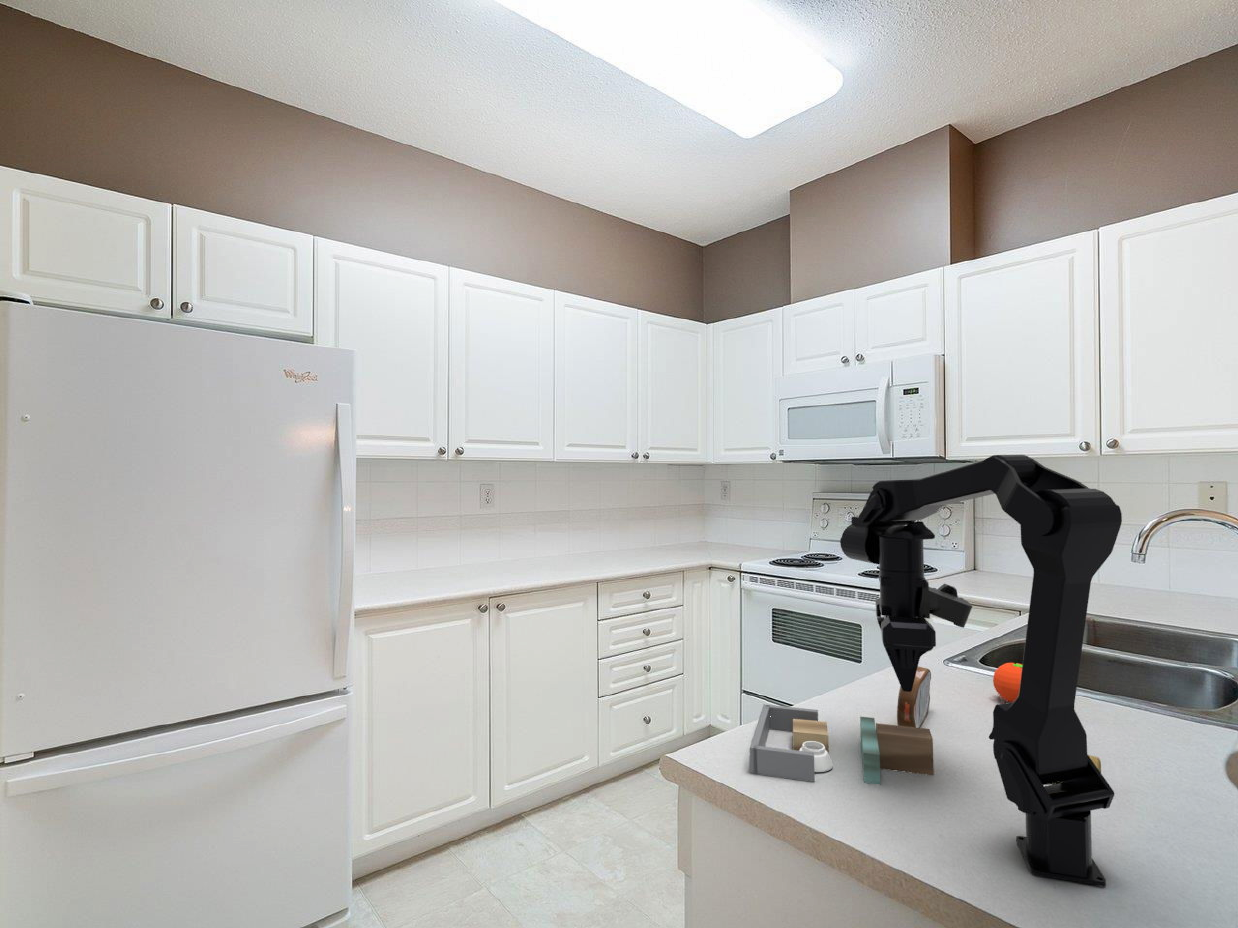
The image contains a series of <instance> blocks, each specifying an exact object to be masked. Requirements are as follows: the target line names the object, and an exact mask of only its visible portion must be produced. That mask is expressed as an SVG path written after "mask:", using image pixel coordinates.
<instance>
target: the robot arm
mask: <svg viewBox="0 0 1238 928" xmlns="http://www.w3.org/2000/svg"><path fill="white" fill-rule="evenodd" d="M872 489H873V490H871V492H870V494H869V496H868V498H867V500H866V502H865V504H864V506H863V508H862V510H861V512H860V513H859V515H858V516H851V519H850V520H851V524H849V525H848V526H847V527H846V528H845V529H844V530H843V532H842V534H841V538H840V539H839V540H840V548H841V551H842V553H843V554H844V555H845V556H846V557H847V558H849V559H851V560H855V561H860V562H866V563H868V564H869V563H871V564H874V565H879V572H878V581H879V598H877V599H876V600H875V615H876V620H877V624H878V627H879V628H880V629H879V630H880V631H881V640H882V645H883V647H884V650H885V651H886V654H887V656H888V658H889V661H890V664H891V666H892V669H893V671H894V673H895V676H896V678H897V680H898V683H899V685H900V686H901V688H902V690H903V691H905V692H911V691H912V688H913V684H914V680H915V676H916V671H917V667H919V662H920V660H921V657H922V656H923V655H924V654H926V653H927V652H930V651H933V649H934V648H935V647H937V642H936V641H937V639H936V637H937V636H936V632H937V631H936V630H935V628H934V627H933V625H932V624H931V623H930V622H929V621H928V620H927V619H930V620H931V615H932V616H934V617H937V618H940V619H942V620H944V621H947V622H950V623H952V624H953V625H955V626H957V627H960V628H962V629H963V628H965V627H966V624H967V622H968V619H969V616H970V614H971V611H972V608H973V605H972V604H971V603H970V602H969V601H968V600H966V599H964V598H963V597H961V596H960V597H959V596H958V590H957V589H956V587H955V586H952V585H949V584H946V583H943V584H942V585H941V586H939V587H938V588H936V587H930V584H929V581H928V580H927V579H926V577H925V567H924V566H925V564H924V563H925V562H924V561H925V560H924V540H934V539H935V538H936V534H935V533H934V532H933V531H932V530H931V529H930V528H928V527H927V526H926V524H925V523H924V521H921V520H924V519H926V518H928V517H930V516H932V515H934V514H935V515H936V513H938V511H939V510H940V509H942V508H943V507H946V506H948V505H952V504H956V503H960V502H964V501H969V500H974V499H977V498H982V497H985V496H986V497H987V496H990V495H996V498H997V500H998V503H999V506H1000V507H1001V509H1002V511H1003V512H1004V513H1005V514H1006V515H1008V516H1009V517H1010V518H1012V519H1013V520H1014V521H1016V523H1018V524H1019V525H1020V526H1019V527H1020V543H1021V546H1022V549H1023V550H1024V553H1025V555H1026V557H1027V559H1028V561H1029V563H1030V565H1031V566H1032V569H1033V574H1032V575H1033V576H1032V584H1031V591H1030V601H1029V609H1028V618H1027V626H1026V634H1025V642H1024V650H1023V657H1022V658H1023V659H1022V673H1021V682H1020V690H1019V695H1018V697H1017V699H1016V700H1015V701H1014V702H1006V703H1005V702H1004V703H998V704H995V706H994V708H993V712H992V721H993V723H992V724H993V725H992V730H991V732H990V734H989V735H988V738H989V740H993V744H992V746H993V747H992V749H993V756H994V759H995V761H996V765H997V768H998V772H999V774H1000V775H999V776H1000V779H1001V782H1002V785H1003V790H1004V792H1005V795H1006V799H1007V800H1008V801H1010V802H1011V803H1013V804H1015V805H1016V807H1017V810H1019V812H1022V813H1023V814H1025V836H1023V835H1018V836H1016V837H1015V841H1016V844H1017V846H1018V848H1019V850H1020V852H1021V854H1022V856H1023V859H1024V861H1025V864H1026V865H1027V867H1028V869H1029V871H1030V872H1031V874H1033V875H1036V876H1039V877H1040V876H1041V877H1046V878H1047V877H1048V878H1052V879H1053V878H1054V879H1060V880H1065V881H1071V882H1077V883H1084V884H1090V885H1095V886H1101V887H1105V886H1106V885H1107V879H1106V878H1105V876H1104V874H1103V873H1102V871H1101V870H1100V867H1098V865H1097V863H1096V862H1095V861H1094V858H1093V849H1092V848H1093V847H1092V843H1093V841H1092V817H1091V816H1092V811H1094V810H1095V811H1096V810H1100V809H1105V810H1106V809H1109V808H1110V806H1111V804H1112V801H1113V800H1114V796H1115V791H1114V790H1113V788H1112V787H1111V785H1110V784H1109V783H1108V781H1107V780H1106V778H1105V777H1104V776H1103V774H1102V772H1101V773H1100V771H1099V770H1098V769H1097V767H1096V766H1095V764H1094V763H1093V761H1092V760H1091V759H1090V757H1089V756H1088V755H1089V754H1088V740H1087V738H1088V736H1087V732H1086V730H1085V728H1084V726H1083V723H1082V722H1081V720H1080V718H1079V716H1078V713H1077V712H1076V710H1075V704H1076V703H1075V702H1076V697H1077V696H1076V695H1077V687H1078V680H1079V673H1080V666H1081V658H1082V649H1083V643H1084V637H1085V629H1086V623H1087V622H1086V620H1087V613H1088V606H1089V599H1090V592H1091V582H1092V579H1093V577H1094V576H1095V574H1096V573H1097V572H1098V571H1099V569H1101V567H1102V566H1103V565H1104V563H1105V562H1106V561H1107V559H1108V558H1109V557H1110V555H1111V554H1112V553H1113V550H1114V547H1115V544H1116V541H1117V539H1118V536H1119V535H1118V534H1119V533H1120V530H1121V526H1122V523H1123V516H1122V509H1121V507H1120V505H1118V504H1116V502H1115V501H1114V500H1113V498H1112V497H1111V496H1110V495H1108V494H1107V493H1106V492H1105V491H1103V490H1100V489H1097V488H1089V487H1088V486H1087V485H1085V484H1083V483H1082V482H1081V481H1079V480H1076V479H1075V478H1071V477H1070V476H1067V475H1065V474H1062V473H1060V472H1058V471H1056V470H1053V469H1050V468H1049V467H1046V466H1044V465H1043V464H1042V463H1040V462H1038V461H1037V460H1035V459H1034V458H1032V457H1029V456H1028V455H1025V454H995V455H994V454H993V455H990V456H989V457H987V458H985V459H983V460H980V461H977V462H973V463H970V464H966V465H963V466H960V467H957V468H952V469H950V470H947V471H946V470H945V471H944V472H942V471H941V472H939V473H936V474H933V475H930V476H926V477H922V478H918V479H914V478H913V479H892V480H879V481H877V482H875V483H874V484H873V486H872ZM1059 782H1062V783H1059Z"/></svg>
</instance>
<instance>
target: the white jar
mask: <svg viewBox="0 0 1238 928" xmlns="http://www.w3.org/2000/svg"><path fill="white" fill-rule="evenodd" d="M799 751H805V752H813V753H814V772H815V773H824V772H828V771H830V770H831V769H833V760H832V758H831V756H830V754H828V752H827V751H826V750H825V746H824V745H823V744H822V743H819V742H815V741H807V742H804V743H803V744H802V747H801V748H800V750H799Z"/></svg>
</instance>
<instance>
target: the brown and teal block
mask: <svg viewBox="0 0 1238 928" xmlns="http://www.w3.org/2000/svg"><path fill="white" fill-rule="evenodd" d="M859 718H860V719H859V721H860V728H859V729H860V749H861V760H862V762H861V763H862V771H863V773H862V774H863V783H865V784H866V783H867V784H872V785H873V784H874V785H881V770H887V771H893V770H897V771H896V772H901V771H905V772H904V773H909V772H912V773H911V774H917V773H919V774H920V775H925V774H927V776H933V775H934V774H935V771H934V739H933V735H932V733H931V729H930V728H925V727H920V728H916V727H907V726H898V724H897V725H894V724H887V723H886V724H885V723H876V721H875V717H868V716H860V717H859ZM880 768H881V769H880Z"/></svg>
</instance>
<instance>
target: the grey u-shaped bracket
mask: <svg viewBox="0 0 1238 928" xmlns="http://www.w3.org/2000/svg"><path fill="white" fill-rule="evenodd" d="M770 716H771V717H770ZM793 719H801V720H813V721H819V709H815V708H814V709H812V708H804V707H792V706H785V705H783V706H782V705H773V704H763V705H762V708H761V710H760V714H759V717H758V720H757V723H756V727H755V730H754V733H753V736H752V739H751V742H750V745H749V773H750V774H753V775H761V776H767V777H775V778H784V779H790V780H798V781H804V782H812V783H815V780H816V779H815V773H816V772H814V753H813V752H805V751H797V750H793V749H786V748H778V747H772V746H766V743H767V740H768V736H769V733H770V730H777V731H786V732H792V733H793Z"/></svg>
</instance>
